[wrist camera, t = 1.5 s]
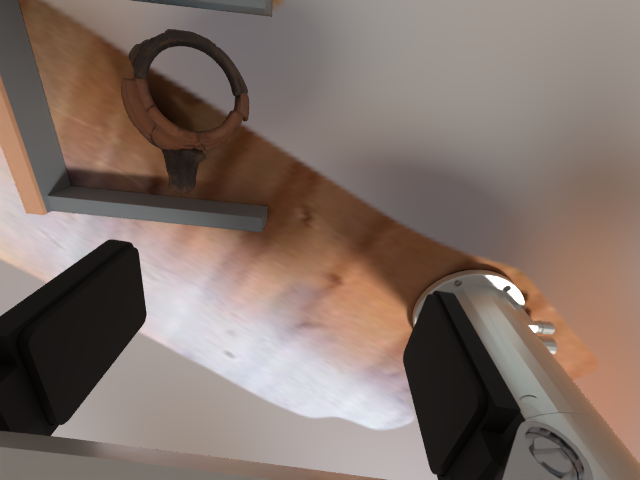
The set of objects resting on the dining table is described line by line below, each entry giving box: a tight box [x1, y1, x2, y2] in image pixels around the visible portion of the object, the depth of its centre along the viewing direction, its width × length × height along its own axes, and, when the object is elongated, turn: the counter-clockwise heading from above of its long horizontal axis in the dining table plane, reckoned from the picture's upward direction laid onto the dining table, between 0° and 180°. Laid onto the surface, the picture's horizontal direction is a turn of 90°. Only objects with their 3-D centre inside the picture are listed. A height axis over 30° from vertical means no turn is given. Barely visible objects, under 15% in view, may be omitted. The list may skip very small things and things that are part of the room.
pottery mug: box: [121, 29, 249, 193], centre depth 26 cm, size 12×10×8 cm
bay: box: [0, 0, 272, 232], centre depth 26 cm, size 22×19×4 cm
